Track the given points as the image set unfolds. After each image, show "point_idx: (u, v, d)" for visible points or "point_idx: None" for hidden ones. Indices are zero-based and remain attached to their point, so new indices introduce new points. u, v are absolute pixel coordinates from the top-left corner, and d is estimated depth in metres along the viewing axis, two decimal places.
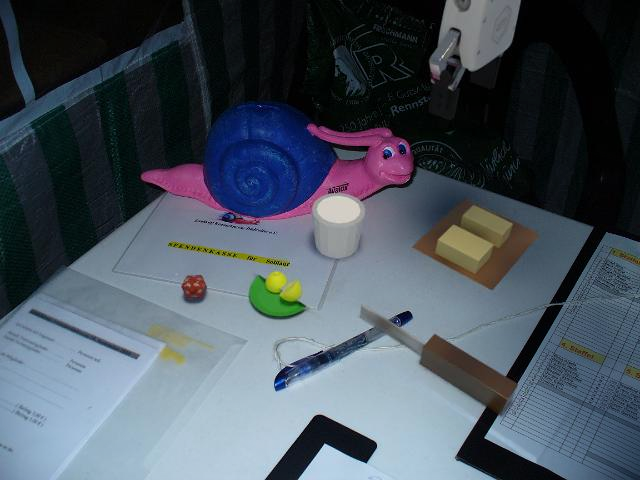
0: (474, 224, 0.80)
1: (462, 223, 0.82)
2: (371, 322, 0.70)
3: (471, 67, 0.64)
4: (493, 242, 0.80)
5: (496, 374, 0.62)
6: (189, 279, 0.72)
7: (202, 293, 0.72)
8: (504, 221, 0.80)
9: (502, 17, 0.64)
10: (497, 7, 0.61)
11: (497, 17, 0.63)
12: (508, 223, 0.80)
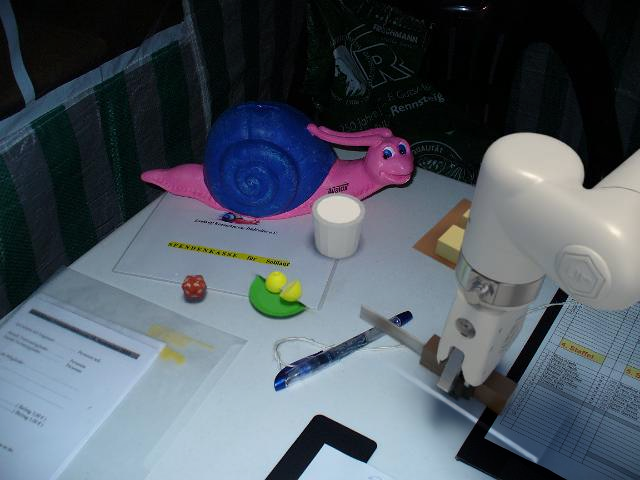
0: None
1: (462, 223, 0.82)
2: (371, 322, 0.70)
3: (475, 385, 0.56)
4: None
5: (496, 374, 0.62)
6: (189, 279, 0.72)
7: (202, 293, 0.72)
8: None
9: (511, 329, 0.55)
10: (505, 331, 0.53)
11: (505, 336, 0.54)
12: None
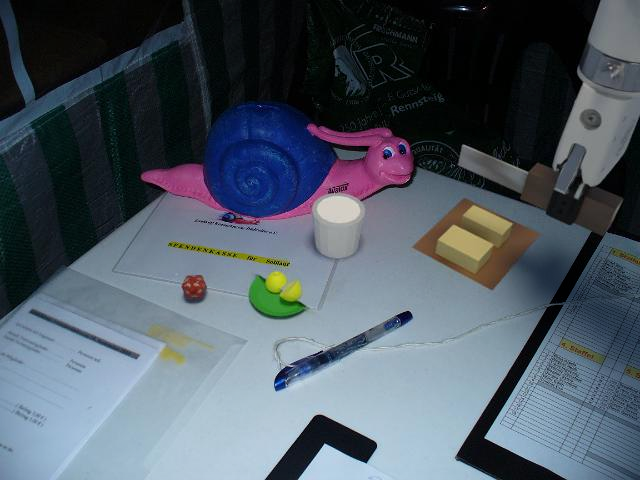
0: (474, 224, 0.80)
1: (462, 223, 0.82)
2: (471, 162, 0.74)
3: (593, 184, 0.60)
4: (493, 242, 0.80)
5: (601, 191, 0.65)
6: (189, 279, 0.72)
7: (202, 293, 0.72)
8: (504, 221, 0.80)
9: (627, 131, 0.59)
10: (626, 124, 0.57)
11: (624, 133, 0.58)
12: (508, 223, 0.80)
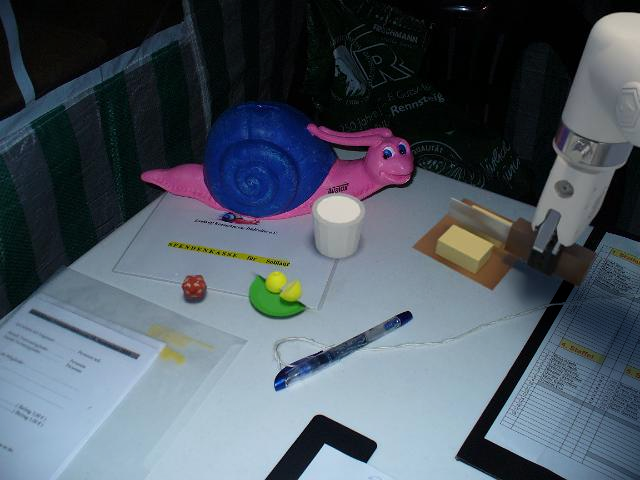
0: None
1: (462, 223, 0.82)
2: (459, 213, 0.79)
3: (567, 244, 0.65)
4: (493, 242, 0.80)
5: (577, 246, 0.71)
6: (189, 279, 0.72)
7: (202, 293, 0.72)
8: (504, 221, 0.80)
9: (598, 196, 0.65)
10: (597, 193, 0.63)
11: (595, 199, 0.64)
12: (508, 223, 0.80)
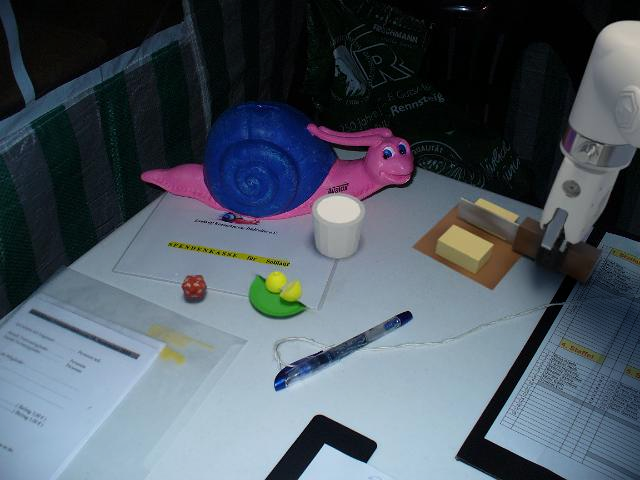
0: None
1: None
2: (468, 213, 0.82)
3: (574, 242, 0.68)
4: None
5: (583, 244, 0.74)
6: (189, 279, 0.72)
7: (202, 293, 0.72)
8: (511, 213, 0.81)
9: (604, 195, 0.68)
10: (602, 192, 0.66)
11: (601, 199, 0.67)
12: (515, 215, 0.81)
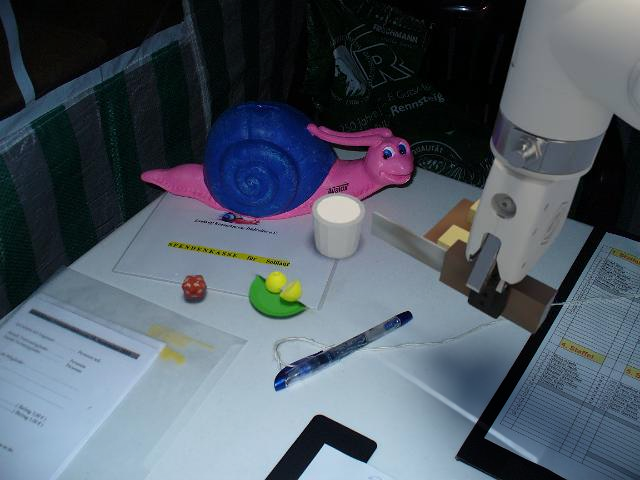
0: None
1: (469, 216, 0.83)
2: (384, 232, 0.61)
3: (512, 282, 0.47)
4: None
5: (531, 280, 0.53)
6: (189, 279, 0.72)
7: (202, 293, 0.72)
8: None
9: (555, 215, 0.47)
10: (551, 211, 0.45)
11: (550, 220, 0.46)
12: None
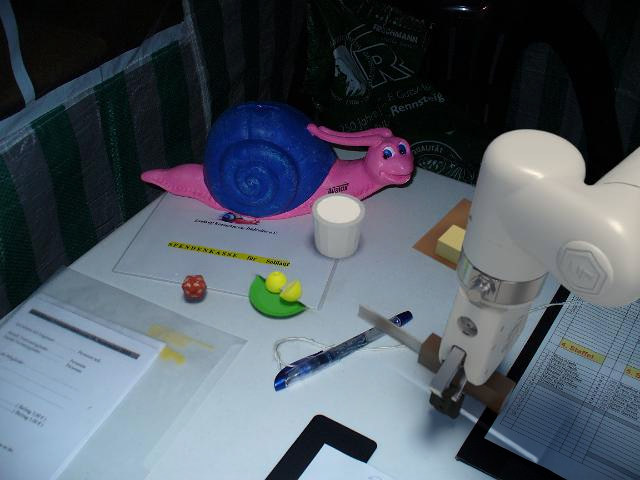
0: None
1: None
2: (369, 321, 0.70)
3: (477, 384, 0.55)
4: None
5: (494, 372, 0.62)
6: (189, 279, 0.72)
7: (202, 293, 0.72)
8: None
9: (513, 328, 0.55)
10: (507, 329, 0.53)
11: (507, 334, 0.54)
12: None
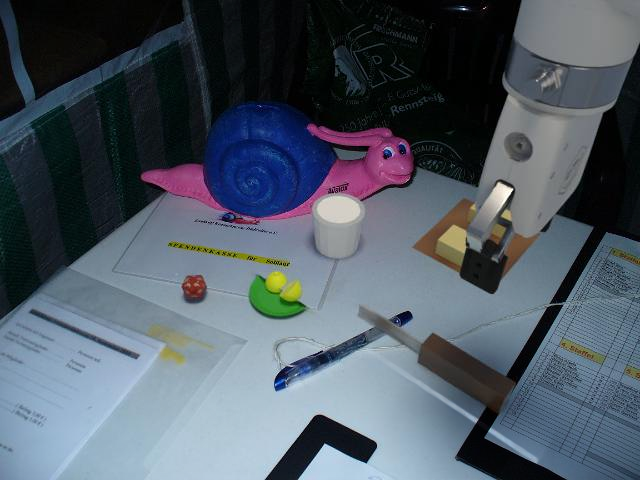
0: None
1: (469, 216, 0.83)
2: (369, 321, 0.70)
3: (527, 235, 0.43)
4: (500, 234, 0.81)
5: (494, 372, 0.62)
6: (189, 279, 0.72)
7: (202, 293, 0.72)
8: None
9: (574, 161, 0.42)
10: (570, 153, 0.40)
11: (568, 165, 0.41)
12: None
